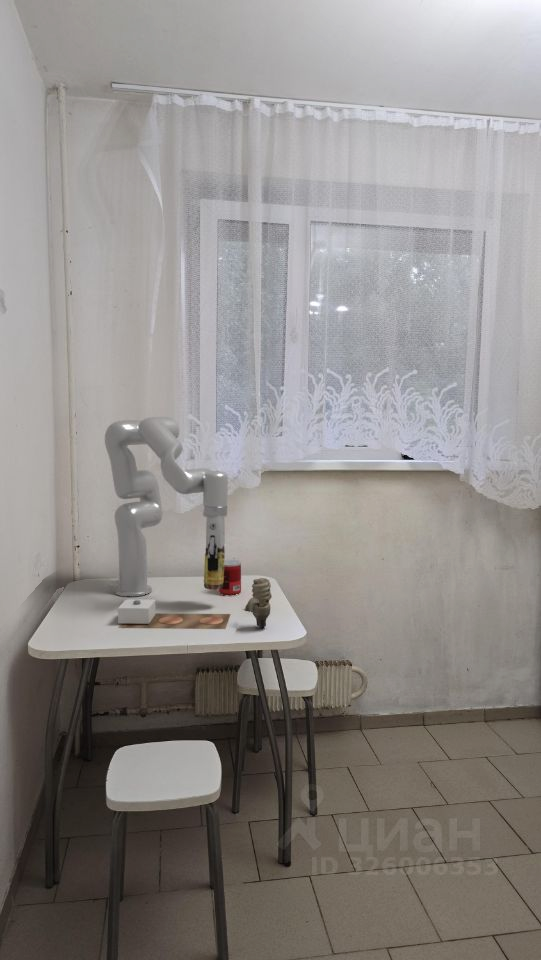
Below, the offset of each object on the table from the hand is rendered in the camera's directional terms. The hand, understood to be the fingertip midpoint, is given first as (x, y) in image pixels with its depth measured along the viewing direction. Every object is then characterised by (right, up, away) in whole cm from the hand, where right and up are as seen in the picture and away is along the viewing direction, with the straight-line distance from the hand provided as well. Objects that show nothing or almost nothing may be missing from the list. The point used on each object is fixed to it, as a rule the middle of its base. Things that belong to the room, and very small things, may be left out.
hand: (214, 567), depth 205 cm
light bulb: (+15, -16, -16) cm, 27 cm away
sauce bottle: (0, -7, +1) cm, 7 cm away
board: (-10, -16, -12) cm, 22 cm away
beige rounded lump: (+14, -14, +2) cm, 20 cm away
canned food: (+4, -12, +23) cm, 26 cm away
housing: (-22, -14, -11) cm, 28 cm away
